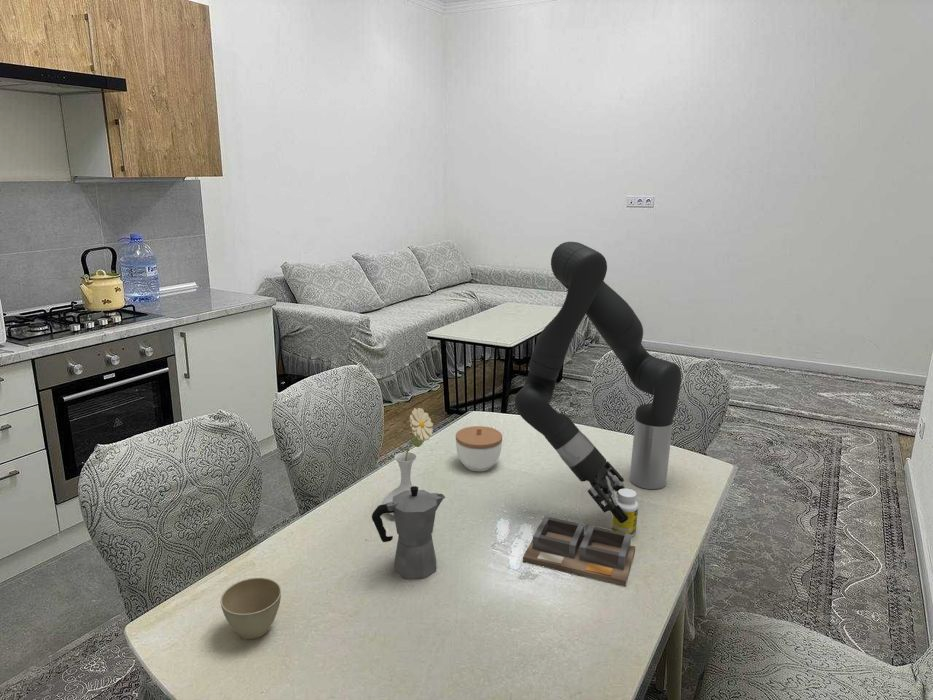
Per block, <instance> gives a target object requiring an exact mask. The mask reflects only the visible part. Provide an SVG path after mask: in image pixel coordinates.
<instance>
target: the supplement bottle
mask: <svg viewBox="0 0 933 700" xmlns="http://www.w3.org/2000/svg"><path fill="white" fill-rule="evenodd" d="M615 500H616V502H617V504H618V505H619V506H620V507H621V508H622V510H623V511H624V512H625V513H626V514H627V515H628V520H627V521H625V522H623V523H620V522H619V521H618V520H617V519H616V517H615V516H614V515H613V514H612V519H611V527H610V528H611V529H610V530H614V531H618V532H623V533H628V534H631V538H632V537H634V536H635V535H636V532H637V525H638V524H637V523H638V514H639V503H638V501H637V492H636V491H635V490H633V489H631V488H626V487H625V488H624V489H620V490H619V491H618V494H617V497H616V498H615Z"/></svg>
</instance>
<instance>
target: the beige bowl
mask: <svg viewBox="0 0 933 700" xmlns="http://www.w3.org/2000/svg"><path fill="white" fill-rule="evenodd" d="M281 598H282V588H281V586H280V584H279V583H278V582H277V581H275V580H274V579H272V578H266V577H251V578H246V579H243V580H239V581H237V582H235V583H234V584H232V585H229V587H227V588H226V589H225V590H224V591H223V593H222V595H221V597H220V608H221V610H222V613H223V615H224V617H225V619H226V621H227V623H228V625H229V626H230V627H231V629H232V630H233V631H234V632H235V633H236V634H237V635H238V636H239V637H241V638H242V639H246V640H255V639H258V638H261V637H263V636H264V635H265V634H266V633H268V631H269V630H270V628H271V626H272V624H273V623H274V621H275V619H276V617H277V614H278V611H279V607H280V603H281Z"/></svg>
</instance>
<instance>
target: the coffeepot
mask: <svg viewBox="0 0 933 700" xmlns="http://www.w3.org/2000/svg"><path fill="white" fill-rule="evenodd" d="M410 489H411V490H406V491H404V492H402V493H400V494H397V495H395V496H393V501H392V502H389V503H386V504H383V505H382V504H378V505H377V507H376V508H375V510H373V511H372V514H371V519H372V522H373V524H374V526H375V529H376V530H377V533H378V535H379V537H380V539H381V542H382V543H388V542H392V541H393V537H394V536H393V535H390V536H387V530H386V528H385V526H384V522H383V519H382V517H381V516H382V515H383V514H388V513H394V516H393V517H394V524H395V528H396V534H397V535H398V537H397V543H396V549H395V550H396V551H395V554H394V562H393V563H394V565H393V572H394V573H395V574H397V575H398V576H399V577H401V578H404V579H407V580H421V579H422V580H423V579H424V578H428V577H429V576H431V575H433V574H434V572H435V571H437V557H436V556H437V555H436V552H435V547H434V540H433V535H432V534H433V531H434V524H435V519H436V513H437V510H438V508H439V507H440V505H441V503H442V502H443V500H444V499H446V496H445V495H444V494H442V493H439V492H429V491H427V490H425V489H419V487H418V486H417V485H416V486H415V485H413V486H412V487H411V488H410ZM418 489H419V490H418Z"/></svg>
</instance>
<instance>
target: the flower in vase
mask: <svg viewBox="0 0 933 700" xmlns="http://www.w3.org/2000/svg"><path fill="white" fill-rule="evenodd" d="M409 423H410V428H411V433H412V434H411V437H410V441H409V444H408V447H402V446H401V445H400V446H398V450H403V451H404V452H400V453H396V454H395V455H394V460H395V461H396V462H397V463H398V465H399V471H400V484H399V486H397V487H395V488H394V489H393V490H391V491H390V492H389V493H387V495H385V496H384V498H383V500H382V503H381V505H383V504H386V503H389V502H392V501H393V496H395V495H397V494H400V493H402V492H404V491H406V490H411V489H410V488H411V487H412V486H414V485H413V484H412V481H411V480H412V479H411V471H412V467H413V466H412V465H413V463H414V461H415V460H416V458H417V455H416V454H415V453H413V452H409V451H410V449H411V445H413V446H414V447H416V448H419V447H421V446H422V445H423V444H424V441H430V436H433V432H434V429H433V428H432V427H434V423H433V422H432V419H431V417H430V416H429V413H428V412H425V411H424V409H423V408H422V407H421V408H420V407H418V408H415V407H414V409H413V410H412V411H411V414H410V416H409ZM418 490H420V489H419V488H418ZM387 514H389V515H390V516H393V517H394V513H387Z"/></svg>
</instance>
